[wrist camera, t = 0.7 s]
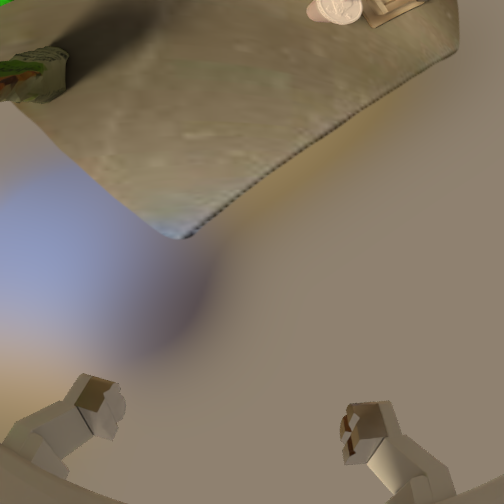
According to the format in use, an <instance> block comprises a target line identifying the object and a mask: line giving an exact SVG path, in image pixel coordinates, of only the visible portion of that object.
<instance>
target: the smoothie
mask: <svg viewBox="0 0 504 504" xmlns="http://www.w3.org/2000/svg"><path fill="white" fill-rule="evenodd" d="M362 10H363V6H362V1H361V0H313V1H312V2H311V3H310V4H309V6H308V7H307V15H308V17H309V18H310V19H311V20H313V21H315V22H333V23H336V24H340V25H346V24H350V23H352V22H355V21H356V20H358V19H359V17H360V16H361V14H362Z"/></svg>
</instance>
